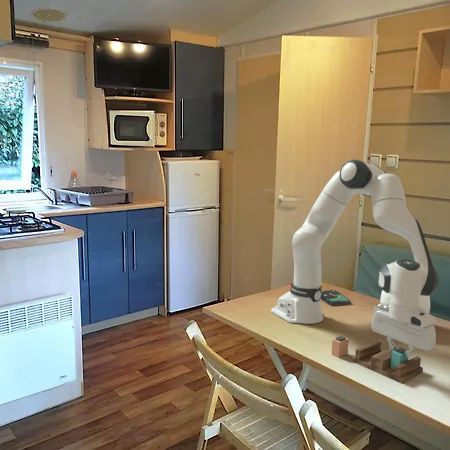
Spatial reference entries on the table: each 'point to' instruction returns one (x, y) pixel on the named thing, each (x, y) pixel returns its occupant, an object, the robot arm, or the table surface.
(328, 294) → the disk drive
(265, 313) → the table surface
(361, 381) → the table surface
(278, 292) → the table surface
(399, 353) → the teal box with panel
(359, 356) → the brown slotted tray
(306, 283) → the robot arm
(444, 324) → the table surface
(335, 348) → the orange rectangular block
